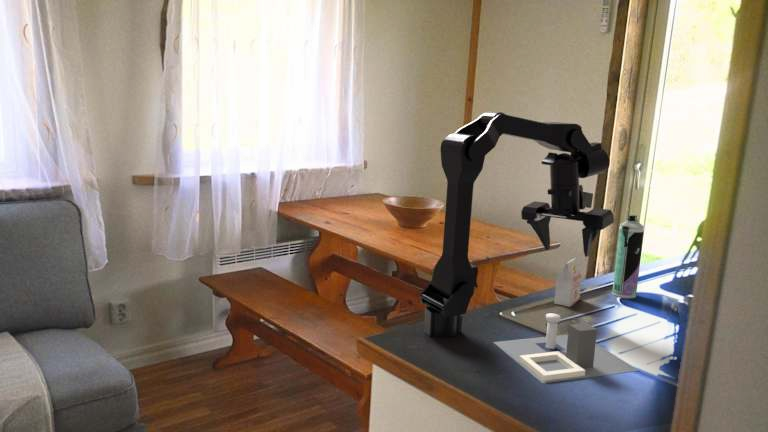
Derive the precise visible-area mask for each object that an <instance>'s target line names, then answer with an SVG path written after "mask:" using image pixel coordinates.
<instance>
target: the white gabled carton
mask: <svg viewBox="0 0 768 432" xmlns="http://www.w3.org/2000/svg"><path fill="white" fill-rule="evenodd" d="M582 277H583V276H582V272H581V270H580V268H579V264H578V258H577V257H575V258H572V259H570V260H569V261H567V262H565V263H564V266H563V268H562V270H561V272H560V273H559V275H558V276H557V278H556V280H555V290H554V291H555V292H554V300H553V301H554V305H556V304H557V305H560V306H564V307H567V308H568V307H570V308H571V307H572V306H573V305H574V304H576V303H577V302H579V300H580V298H581V297H580V296H581V285H582Z"/></svg>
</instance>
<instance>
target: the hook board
mask: <svg viewBox="0 0 768 432" xmlns="http://www.w3.org/2000/svg"><path fill="white" fill-rule="evenodd" d="M561 319H562V318H561V315H560V314H559V313H546V314H545V320H546V321H547V326H546V335H545V336H540V337H529V338H520V339H511V340H500V341H493V342H492V343H493V344H494V345H496V346H497V348H499V349H500V350H502V351H503V352H504V353H506V354H507V356H509V357H510V358H511V359H513V360H514V361H515V362H516V363H517V364H518V365H520V366H521V367H522V368H523V369H525V371H527V372H528V373H529V374H530V375H532V376H533V377H534V378H536V379H537V381H539V382H540V383H541V384H549V383H556V382H564V381H572V380H579V379H580V380H581V379H587V378H593V377H601V376H610V375H611V376H612V375H619V374H625V373H632V372H640V370H639V369H637V368H636V367H634V366H633V365H631V364H629V363H628V362H627V361H625V360H623V359H622V358H620V357H618V356H617V355H616V354H614V353H612V352H610V351H609V350H607V349H606V348H604V347H602V346H601V345H599V344H598V343H596V344H595V353H594V363H593V368H585V369H584V370H585V376H580V377H572V378H565V379H557V380H549V381H543V380H542V379H540V378H539V377H538V376H537V375H535V374H534V373H533V372H532V371H531V370H529V369H528V368H527V367H526V366H525V365H523V364H522V363H521V362H520V361H519V356H520V355H529V354H538V353H547V352H548V351H546V350H545V349H543V348H542V347H540V345H538V344H545V346H544V347H545V348H547V349H548V350H553V352H556V350H555V349H556V347H557V346H559V347H561V349H563V350H558V351H559V352H560V353H562V354H563V355H565V356H566V351H567V341H568V333H566V334H558V326H559V325H558V323H560V322H561ZM556 345H557V346H556ZM554 350H555V351H554ZM535 363H536V364H538V365H539V366H540V367H541V368H543V369H544V370H545V371H546V372H547V371H555V370H563V369H568V368H566V367H565V366H564V365H562V364H561V363H560V362H558V361H557V360H551V361H542V362H535Z"/></svg>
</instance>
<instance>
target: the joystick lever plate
mask: <svg viewBox="0 0 768 432" xmlns="http://www.w3.org/2000/svg"><path fill="white" fill-rule="evenodd" d="M567 334H568V341H567V351H566V356H565V355H563V354H562V353H560V352H559V351H560V350H557V351H556V350H555V351H556V352H554V351H546V352H547V353H538V354H529V355H520V356H519V361H520V362H521V363H522V364H523V365H525V366H526V367H527V368H528V369H529V370H531V371H532V372H533V373H534V374H535V375H537V376H538V377H539V378H540V379H542V380H543V381H549V380H557V379H565V378H572V377H580V376H585V370H584V369H585V368H593V363H594V353H595V344H597V343H596V342H597V334H598V329H597V328H596V327H594V326H592V325H591V324H589V323H587V322H582V323H572V324H570V323H569V324H568V331H567ZM551 360H557V361H558V362H560V363H561V364H562V365H564V366H565V367H566V368H568V369H563V370H555V371H547V372H546V371H545V370H544V369H543V368H541V367H540V366H539V365H538V364H536V363H535V362H542V361H551Z"/></svg>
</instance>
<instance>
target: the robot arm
mask: <svg viewBox="0 0 768 432" xmlns="http://www.w3.org/2000/svg"><path fill="white" fill-rule="evenodd" d="M502 135H504V136H508V137H514V138H520V139H526V140H528V141H529V140H530V141H534V142H536V143H537V144H538V145H539V146H541V147H543V148H546V149H548V150H552V151H559V152H563V153H558V152H557V153H556V152H551V151H550V152H548V153H547V155H546V156H545V157H544V158H543V159H542V161H541V165H543V166H549V172H550V173H549V177H550V188H548V189H547V195H550V199H551V201H550V202H551V203H550V204H551V206H550V204H549V202H543V201H537V200H536V201H532V202H529V203H528V204H526V205H524V206H523V207H522V208H521V210H520V217H521V220H525V221H526V224H528V225H530V227H531V228H532V230H533V231H534V233H536V235H537V237H538V239H539V241H540V243H542V245H543V247H544V249H545V250H546V251H549V250H550V248H551V237H550V222H551V219H552V218H554V219H555V218H556V219H562V220H563V219H564V220H572V221H579V222H582V225H583V226H584V228H582V229H581V234H582V246H583V253H584V257H586V258H587V257H589V256H590V254H591V251H592V249H593V245H594V242H595V240H596V238H597V235H598V233H599V232H600V231H602V230H605V229H606V228H607V227H609V226H611V225H612V224H614V223H615V218H614V217H615V216H614V213H613V212H612V210H611V209H606V208H596V207H594V208H592V206H593V199H594V193H591V192H586V191H584V187H583V185H582V184H580V179H586V178H589V177H590V178H591V177H592V176H595V175H600V174H603V173H606V172H607V171H608V170H609V168H610V167H609V166H610V158H609V154H608V153H607V152H606V151H605V149H604V148H602V146H603V144H602V143H601V142H597V141H596V142H595V141H594V142H589V140H588V138H587V137H586V135H585V134H584V132H583V129H582V126H581V125H580V124H577V123H572V122H571V123H569V122H559V121H557V122H556V121H543V122H541V121H536V120H531V119H526V118H522V117H519V116H514V115H508V114H506V113H504V112H501V111H485V112H483V113H482V114H481V115H479V116H478V117H477V118H476V119H475V120H473V121H471V122H469V123H468V124H467V123H466V124H465V125H464V126H461V127H460V128H459V129H457V130H456V131H455V132H454V133H453V132H452V133H450V134H449V135H448V134H447V135H446V137H445V138H444V139H442V141H441V145H440V160H441V162H440V163H441V167H442V170H443V173H444V176H445V178H446V185H447V186H446V200H445V214H444V226H443V227H444V228H443V229H444V230H443V242H442V253H441V256H440V257H439V259H438V261H437V262H436V263H435V265H434V268H433V271H432V272H433V273H432V277H431V280H430V281H429V283H428V284H427V285H426V286H425V287H424V288H423V290H422V291H421V292H420V293H419V295H418V296H419V299H420V302H421V304H422V305H424V306H425V307H424V328H423V330H422V331H420V333H421V334H423V333H426V334H427V336H429V337H436V338H442V339H444V338H445V339H446V338H447V339H449V338H453V337H455V336H456V335H460V334H462V333H463V320H464V317H463V316H462V315H466V312H467V310H468V307H469V305H470V302H471V299H472V298H473V296H474V294H475V291H476V290H475V289H478V287H479V286H478V282H477V281H478V274H479V268H478V266H476V265H474V264H472V263H471V262H470V259H469V247H470V233H471V223H472V222H471V221H472V208H473V197H474V196H473V194H474V186H475V185H474V184H475V182H476V180H477V179H478V177H479V175H480V173H481V172H482V170H483V168H484V163H485V159H486V156H487V154H489V153H490V152H491V151H492V150H493V149H494V148H495V147H496V146H497V144H498V141H499V139H500V137H501V136H502ZM586 208H589V209H590V210H589V211H587V212H585V211H580V210H584V209H586ZM591 208H592V209H591Z"/></svg>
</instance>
